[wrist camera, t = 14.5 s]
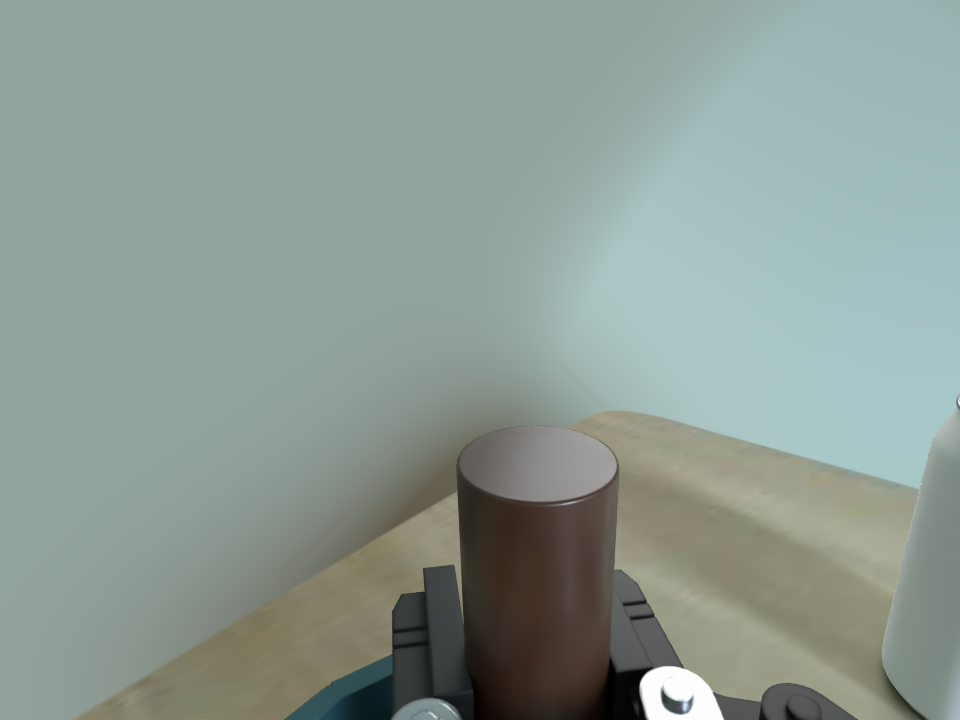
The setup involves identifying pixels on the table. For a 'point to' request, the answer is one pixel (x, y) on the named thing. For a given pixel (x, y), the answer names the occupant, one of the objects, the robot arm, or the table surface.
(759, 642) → the table surface
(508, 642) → the brown post with base
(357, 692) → the bowl
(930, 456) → the can
